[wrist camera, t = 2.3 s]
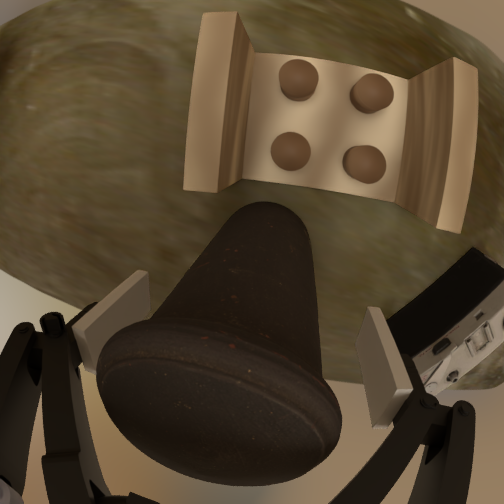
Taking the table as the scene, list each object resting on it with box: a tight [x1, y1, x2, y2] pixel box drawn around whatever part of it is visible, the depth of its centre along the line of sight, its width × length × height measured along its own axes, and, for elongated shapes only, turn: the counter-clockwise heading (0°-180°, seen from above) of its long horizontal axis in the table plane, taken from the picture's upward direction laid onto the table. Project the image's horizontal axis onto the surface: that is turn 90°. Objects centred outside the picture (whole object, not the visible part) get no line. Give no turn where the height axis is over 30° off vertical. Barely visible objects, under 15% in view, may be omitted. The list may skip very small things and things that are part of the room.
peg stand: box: [183, 12, 478, 234], centre depth 17 cm, size 20×11×9 cm, turn 84°
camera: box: [386, 247, 504, 396], centre depth 21 cm, size 14×9×10 cm, turn 127°
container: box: [96, 202, 342, 486], centre depth 16 cm, size 9×9×20 cm
